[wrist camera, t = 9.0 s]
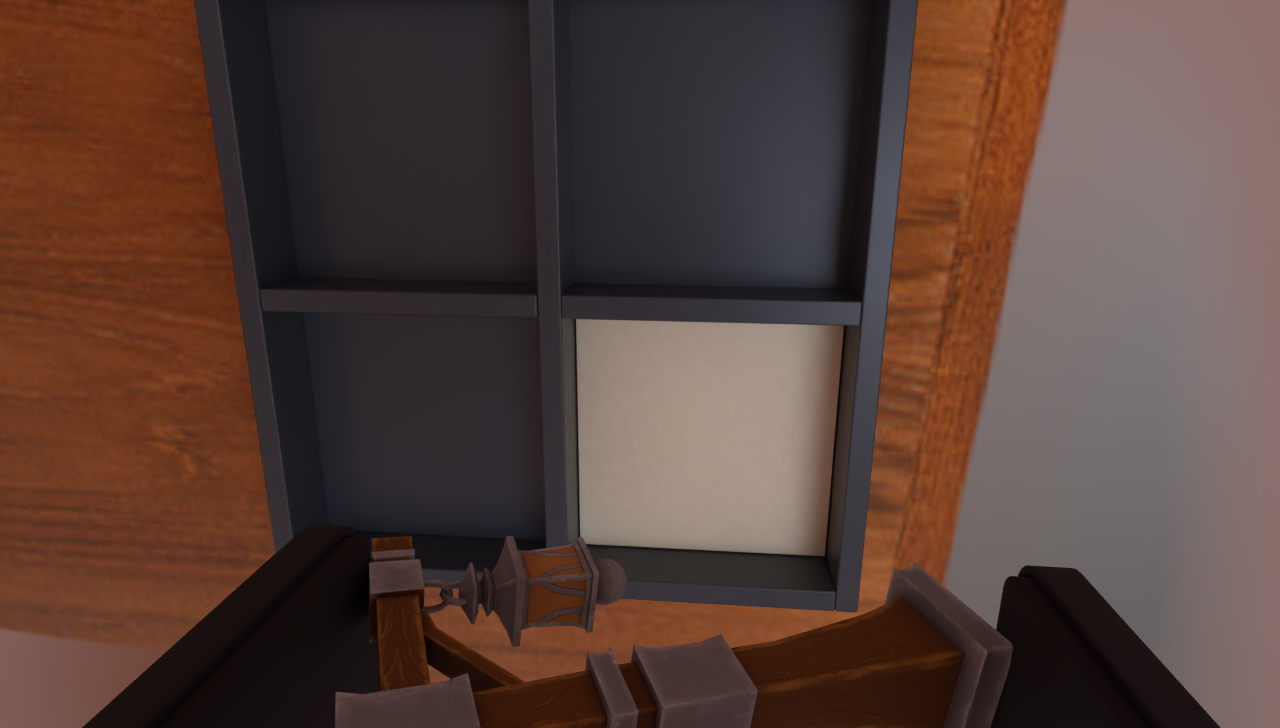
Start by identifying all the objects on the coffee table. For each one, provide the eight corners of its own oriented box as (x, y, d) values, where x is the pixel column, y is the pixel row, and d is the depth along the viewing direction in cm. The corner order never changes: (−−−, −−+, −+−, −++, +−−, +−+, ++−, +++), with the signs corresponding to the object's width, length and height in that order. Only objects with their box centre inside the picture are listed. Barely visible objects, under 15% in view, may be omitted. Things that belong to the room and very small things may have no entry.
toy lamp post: (303, 499, 10) (240, 782, 5) (818, 479, 12) (1031, 658, 8) (304, 615, 10) (247, 952, 6) (798, 571, 13) (990, 783, 9)
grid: (897, -41, 23) (925, -73, 20) (842, 566, 28) (857, 613, 25) (248, -29, 24) (184, -56, 21) (320, 538, 30) (278, 579, 27)
